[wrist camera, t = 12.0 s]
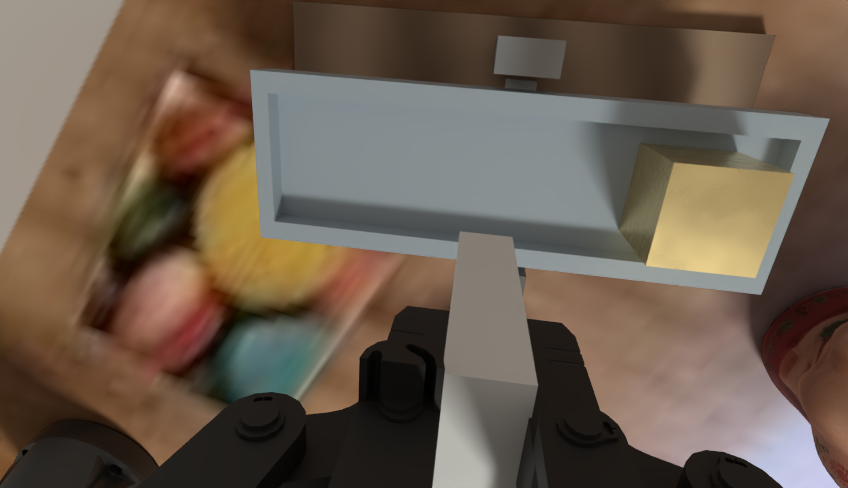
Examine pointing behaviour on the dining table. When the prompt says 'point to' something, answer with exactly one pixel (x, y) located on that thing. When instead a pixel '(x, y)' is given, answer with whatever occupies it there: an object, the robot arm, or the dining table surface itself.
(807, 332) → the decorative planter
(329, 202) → the grey long tray
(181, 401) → the dining table surface
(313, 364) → the dining table surface
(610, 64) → the low stand
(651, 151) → the block
